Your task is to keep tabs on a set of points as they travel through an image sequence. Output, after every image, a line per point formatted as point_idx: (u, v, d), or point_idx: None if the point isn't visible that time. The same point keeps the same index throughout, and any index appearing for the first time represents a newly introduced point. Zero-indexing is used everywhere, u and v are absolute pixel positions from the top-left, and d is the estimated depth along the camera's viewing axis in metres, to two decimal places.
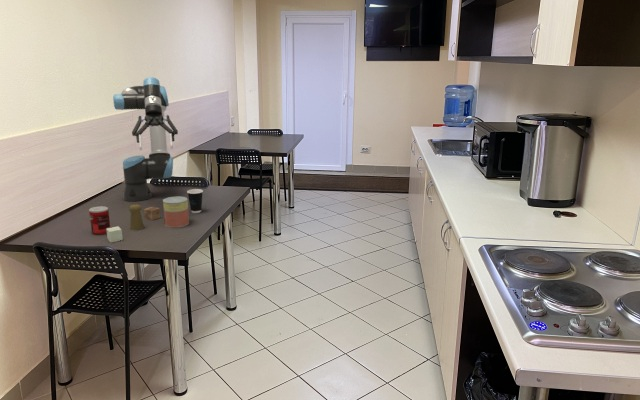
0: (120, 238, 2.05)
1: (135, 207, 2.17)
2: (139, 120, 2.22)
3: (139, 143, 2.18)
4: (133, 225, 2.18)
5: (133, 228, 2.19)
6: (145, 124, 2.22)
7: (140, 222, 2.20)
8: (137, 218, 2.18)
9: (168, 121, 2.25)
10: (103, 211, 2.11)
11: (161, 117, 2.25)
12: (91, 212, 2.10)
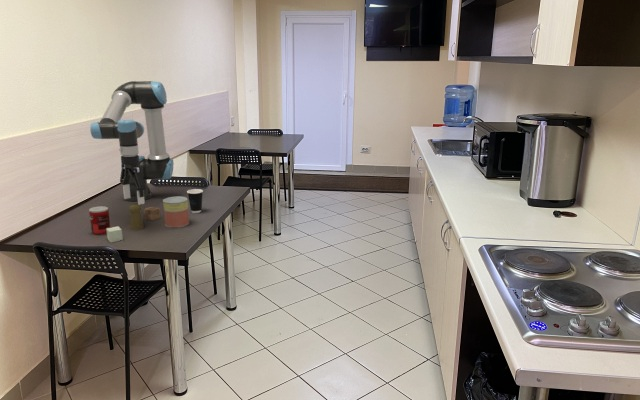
0: (120, 238, 2.05)
1: (135, 207, 2.17)
2: (122, 169, 2.17)
3: (123, 194, 2.21)
4: (133, 225, 2.18)
5: (133, 228, 2.19)
6: (125, 174, 2.16)
7: (140, 222, 2.20)
8: (137, 218, 2.18)
9: (135, 175, 2.09)
10: (103, 211, 2.11)
11: (132, 169, 2.11)
12: (91, 212, 2.10)
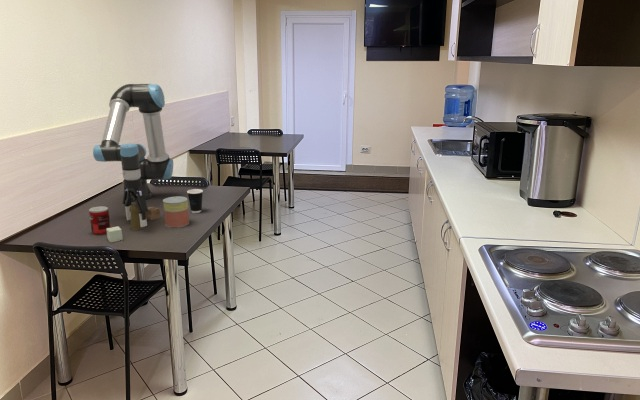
0: (120, 238, 2.05)
1: (135, 207, 2.17)
2: (124, 191, 2.20)
3: (126, 216, 2.24)
4: (133, 225, 2.18)
5: (133, 228, 2.19)
6: None
7: None
8: (137, 218, 2.18)
9: (138, 199, 2.12)
10: (103, 211, 2.11)
11: (134, 192, 2.14)
12: (91, 212, 2.10)
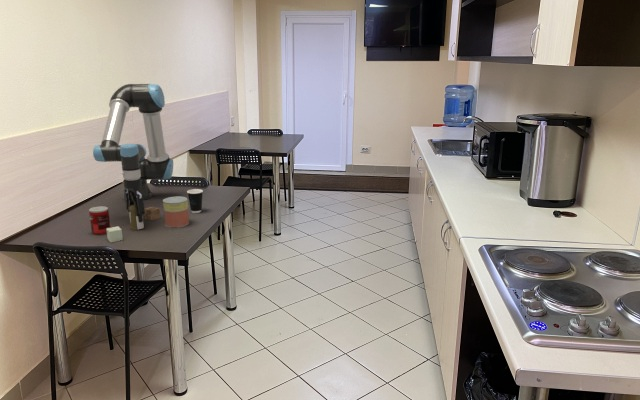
0: (120, 238, 2.05)
1: None
2: (125, 194, 2.20)
3: (130, 221, 2.22)
4: (133, 225, 2.18)
5: (133, 228, 2.19)
6: (129, 199, 2.19)
7: None
8: None
9: (137, 201, 2.13)
10: (103, 211, 2.11)
11: (134, 192, 2.14)
12: (91, 212, 2.10)
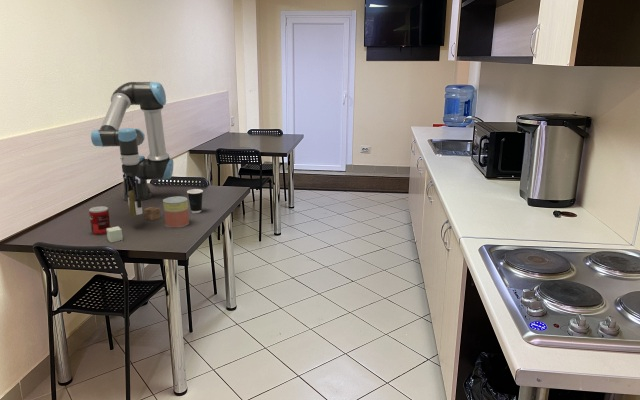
0: (120, 238, 2.05)
1: None
2: (124, 179, 2.18)
3: None
4: (132, 211, 2.17)
5: (132, 213, 2.17)
6: (127, 184, 2.17)
7: None
8: None
9: (135, 186, 2.12)
10: (103, 211, 2.11)
11: (133, 177, 2.12)
12: (91, 212, 2.10)
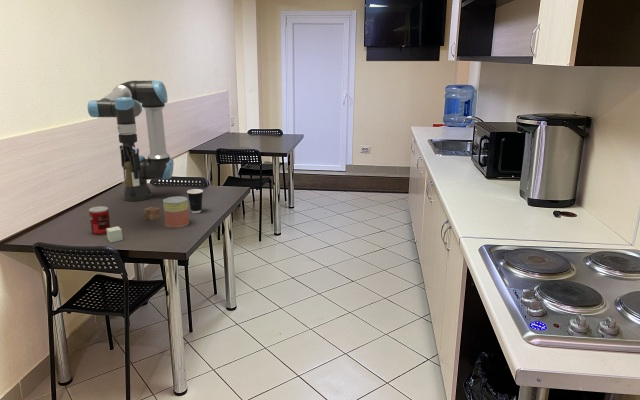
0: (120, 238, 2.05)
1: (130, 163, 2.11)
2: (121, 151, 2.15)
3: None
4: (128, 182, 2.13)
5: (128, 185, 2.13)
6: (124, 156, 2.13)
7: None
8: None
9: (132, 156, 2.08)
10: (103, 211, 2.11)
11: (130, 148, 2.08)
12: (91, 212, 2.10)
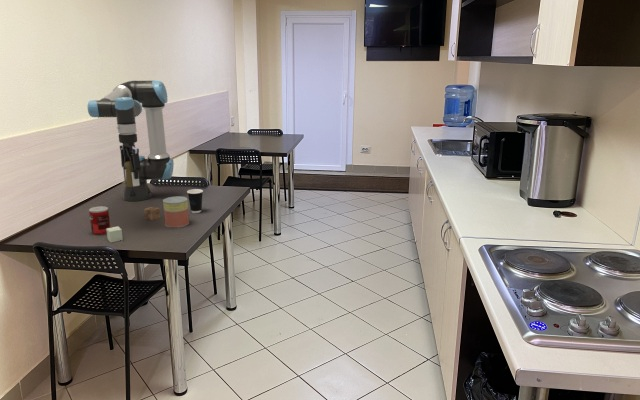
0: (120, 238, 2.05)
1: (130, 163, 2.11)
2: (121, 151, 2.15)
3: None
4: (128, 182, 2.13)
5: (128, 185, 2.13)
6: (124, 156, 2.13)
7: None
8: None
9: (132, 156, 2.08)
10: (103, 211, 2.11)
11: (130, 148, 2.08)
12: (91, 212, 2.10)
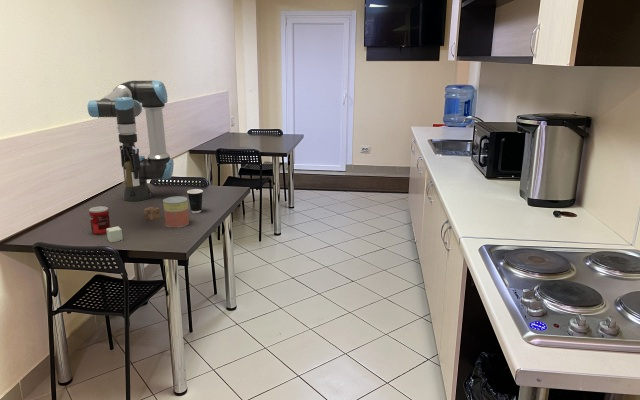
0: (120, 238, 2.05)
1: (130, 163, 2.11)
2: (121, 151, 2.15)
3: None
4: (128, 182, 2.13)
5: (128, 185, 2.13)
6: (124, 156, 2.13)
7: None
8: None
9: (132, 156, 2.08)
10: (103, 211, 2.11)
11: (130, 148, 2.08)
12: (91, 212, 2.10)
